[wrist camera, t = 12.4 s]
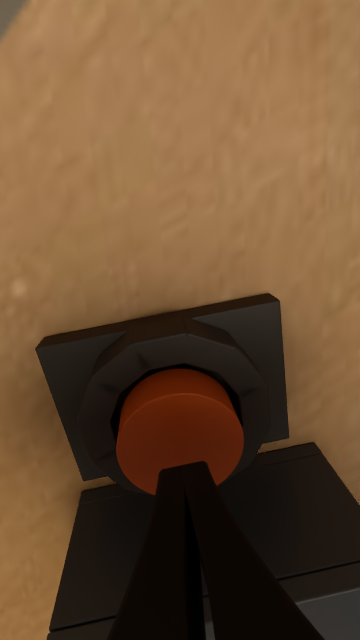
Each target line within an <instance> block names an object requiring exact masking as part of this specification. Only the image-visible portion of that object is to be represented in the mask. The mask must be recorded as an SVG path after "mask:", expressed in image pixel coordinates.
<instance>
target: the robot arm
mask: <svg viewBox="0 0 360 640" xmlns="http://www.w3.org/2000/svg"><path fill="white" fill-rule="evenodd" d="M200 559H201V563H202V567H203V572H204V576H205V580H206V584H207V589H208V595H209V602H210V608H211V615H212V622H213V629H214V636H215V640H325V639H324V638H323V637H322V636H321V634H320V633H319V632H318V631H317V630H316V628H315V627H314V626H313V625H312V623H311V622H310V621H309V620H308V619H307V617H306V616H305V615H304V614H303V613H302V611H301V610H300V609H299V608H298V606H297V605H296V604H295V603H294V601H293V600H292V599H291V598H290V596H289V595H288V594H287V592H286V591H285V590H284V589H283V587H282V586H281V585H280V583H279V582H278V581H277V579H276V578H275V577H274V575H273V574H272V573H271V571H270V570H269V569H268V567H267V566H266V564H265V563H264V562H263V560H262V559H261V557H260V556H259V554H258V553H257V552H256V550H255V549H254V547H253V546H252V544H251V543H250V541H249V540H248V538H247V537H246V535H245V534H244V532H243V531H242V529H241V528H240V526H239V524H238V523H237V521H236V519H235V518H234V516H233V515H232V513H231V511H230V510H229V508H228V506H227V505H226V503H225V501H224V499H223V497H222V495H221V494H220V492H219V490H218V488H217V486H216V484H215V482H214V479H213V477H212V475H211V472H210V470H209V467H208V464H207V463H206V462H205V461H199V462H194V463H189V464H185V465H180V466H175V467H170V468H165V469H162V470H161V471H160V472H159V475H158V482H157V488H156V493H155V498H154V502H153V506H152V510H151V514H150V518H149V521H148V525H147V528H146V532H145V535H144V539H143V542H142V545H141V549H140V552H139V555H138V558H137V560H136V563H135V566H134V569H133V572H132V575H131V578H130V581H129V584H128V586H127V589H126V592H125V595H124V597H123V600H122V602H121V605H120V608H119V610H118V613H117V615H116V618H115V620H114V623H113V625H112V627H111V630H110V632H109V635H108V637H107V639H106V640H206V631H205V617H204V604H203V590H202V577H201V564H200Z"/></svg>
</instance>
